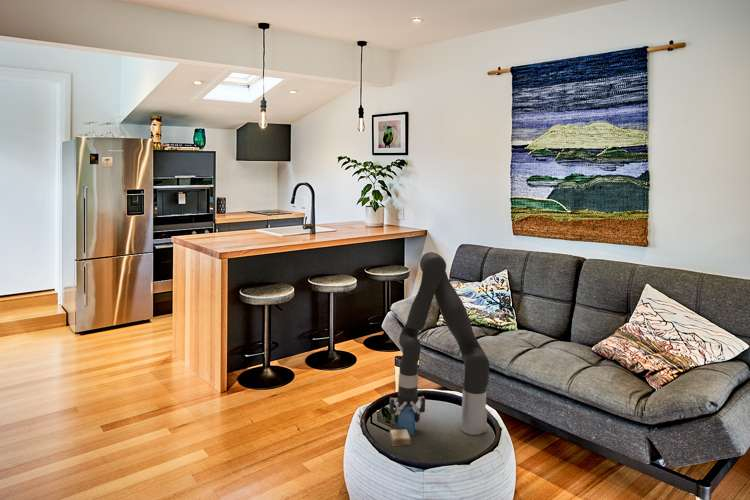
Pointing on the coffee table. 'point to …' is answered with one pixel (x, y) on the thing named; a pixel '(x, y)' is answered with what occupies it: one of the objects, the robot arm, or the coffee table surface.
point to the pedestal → (400, 437)
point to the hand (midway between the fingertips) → (406, 422)
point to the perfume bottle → (407, 419)
